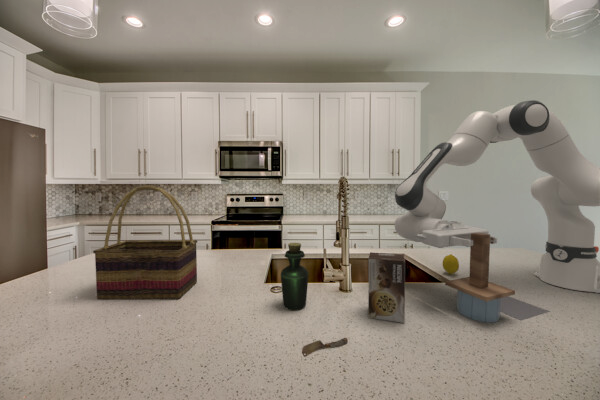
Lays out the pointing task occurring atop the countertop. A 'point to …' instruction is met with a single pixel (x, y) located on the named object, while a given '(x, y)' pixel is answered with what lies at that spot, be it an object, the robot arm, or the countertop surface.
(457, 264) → the lemon
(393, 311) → the coffee box
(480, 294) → the wooden post on board
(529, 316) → the mat
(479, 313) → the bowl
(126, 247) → the basket
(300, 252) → the potion bottle
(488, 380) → the countertop surface
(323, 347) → the meat cleaver
